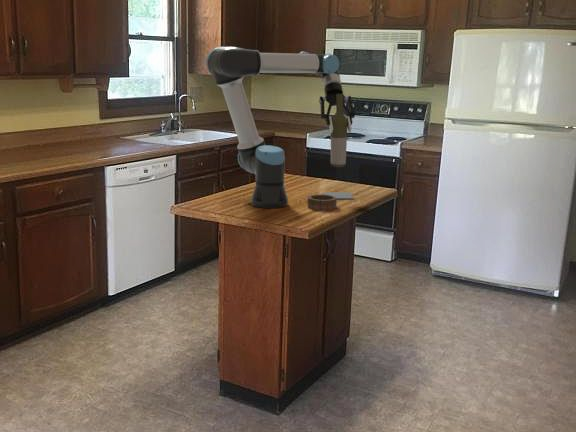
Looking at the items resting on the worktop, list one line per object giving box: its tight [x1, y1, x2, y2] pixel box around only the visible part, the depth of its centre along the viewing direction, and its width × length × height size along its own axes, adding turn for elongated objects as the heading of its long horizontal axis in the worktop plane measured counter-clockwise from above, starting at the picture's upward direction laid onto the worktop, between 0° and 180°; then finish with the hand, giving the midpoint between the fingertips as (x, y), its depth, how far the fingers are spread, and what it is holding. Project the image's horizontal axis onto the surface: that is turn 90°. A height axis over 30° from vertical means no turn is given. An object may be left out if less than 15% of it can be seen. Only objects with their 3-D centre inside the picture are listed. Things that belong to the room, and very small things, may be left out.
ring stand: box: [307, 194, 338, 211], centre depth 260 cm, size 11×11×4 cm
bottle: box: [330, 93, 348, 168], centre depth 266 cm, size 7×7×30 cm
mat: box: [322, 191, 355, 201], centre depth 281 cm, size 12×12×1 cm
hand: (341, 130), depth 262 cm, fingers closed on bottle, 7 cm apart
